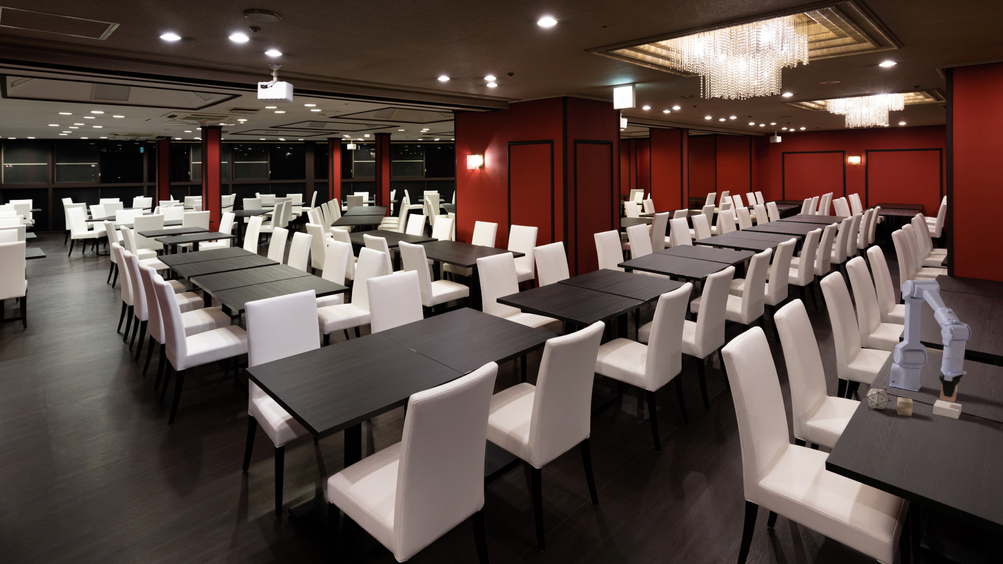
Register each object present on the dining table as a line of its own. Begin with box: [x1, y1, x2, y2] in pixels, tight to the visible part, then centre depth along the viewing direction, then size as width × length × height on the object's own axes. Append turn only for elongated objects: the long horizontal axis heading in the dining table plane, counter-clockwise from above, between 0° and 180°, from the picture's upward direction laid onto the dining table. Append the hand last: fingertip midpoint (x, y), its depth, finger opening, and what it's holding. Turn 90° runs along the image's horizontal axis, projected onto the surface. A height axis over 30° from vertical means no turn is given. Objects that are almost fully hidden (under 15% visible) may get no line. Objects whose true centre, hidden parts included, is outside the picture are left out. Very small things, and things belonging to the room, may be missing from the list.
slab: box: [932, 399, 963, 420], centre depth 198 cm, size 7×7×3 cm
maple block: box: [896, 396, 914, 417], centre depth 199 cm, size 4×4×5 cm
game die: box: [863, 385, 893, 412], centre depth 203 cm, size 9×8×10 cm
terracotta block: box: [939, 384, 958, 403], centre depth 196 cm, size 4×4×5 cm
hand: (948, 394), depth 196 cm, fingers closed on terracotta block, 4 cm apart
